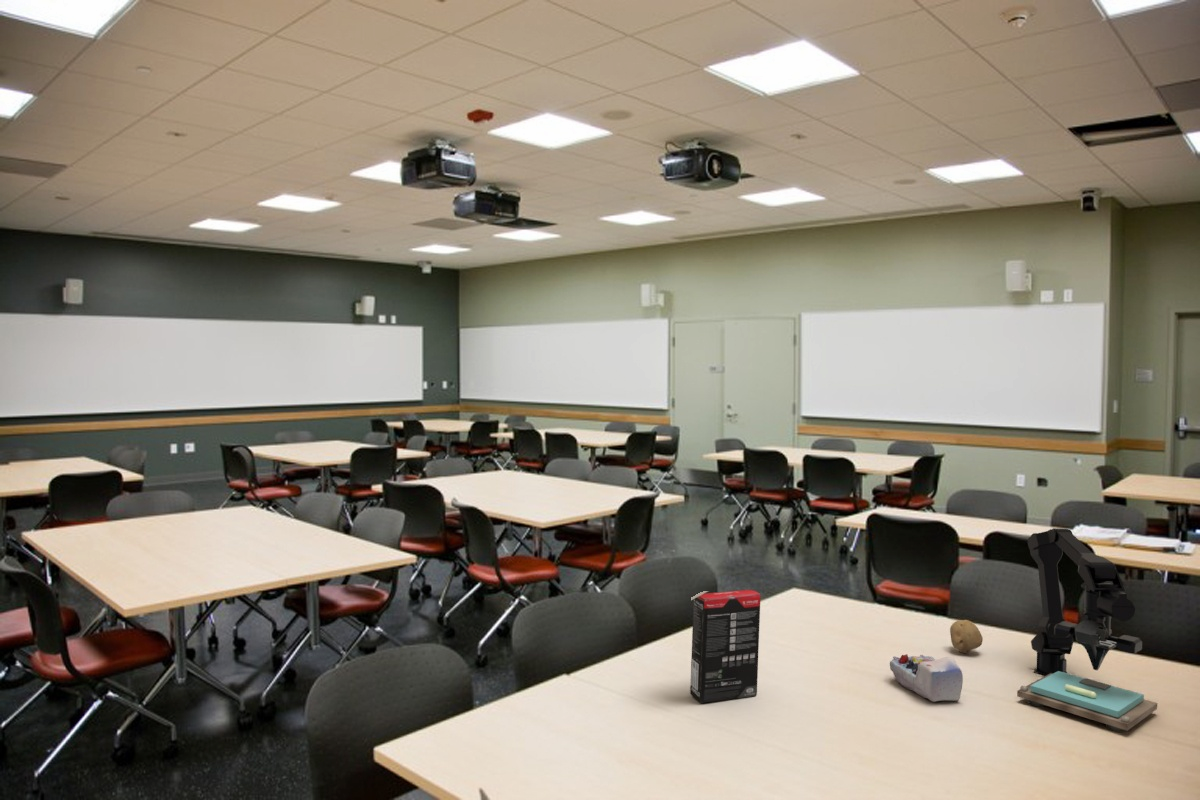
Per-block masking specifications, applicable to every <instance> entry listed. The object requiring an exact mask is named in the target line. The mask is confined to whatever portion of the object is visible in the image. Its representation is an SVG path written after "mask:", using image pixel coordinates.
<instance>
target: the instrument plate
mask: <svg viewBox="0 0 1200 800" xmlns="http://www.w3.org/2000/svg"><path fill="white" fill-rule="evenodd" d="M1030 691H1031V692H1034V693H1038V694H1041V695H1044V696H1048V697H1051V698H1054V699H1058V700H1061V701H1064V702H1067V703H1071V704H1074V705H1077V706H1081V707H1084V708H1087V709H1091V710H1094V711H1097V712H1101V713H1104V714H1107V715H1111V716H1114V717H1117V718H1118V717H1120V716H1121V715H1123V714H1124V713H1126V712H1127V711H1129V710H1130V709H1132V708H1133V707H1135V706H1136V705H1138V704H1139V703H1141V702H1142V701H1144V699H1145V698H1144V697H1145V694H1143V693H1140V692H1135V691H1133V690H1128V689H1125V688H1121V687H1118V686H1114V685H1111V684H1109V683H1105V682H1104V683H1103V682H1101V681H1097V680H1093V679H1089V678H1086V677H1082V676H1079V675H1074V674H1070V673H1068V672H1067V673H1064V672H1060V671H1057V672H1055V673H1053V674H1052V675H1050V676H1048V677H1046V678H1044V679H1042V680H1040V681H1038V682H1036V683H1034V684H1032V685H1030Z"/></svg>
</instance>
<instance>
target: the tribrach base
mask: <svg viewBox="0 0 1200 800" xmlns="http://www.w3.org/2000/svg"><path fill="white" fill-rule="evenodd" d="M1050 675H1052V673H1050V674H1048V675H1044V676H1043V677H1041V678H1039V679H1036V681H1033V682H1031V683H1030V684H1027V685H1021V686H1020V689H1018V690H1017V693H1016V694H1017V696H1016V697H1018V698H1022V699H1025V700H1028V704H1029V705H1031V706H1034V707H1039V708H1040V707H1041V708H1043V707H1044V706H1046V707H1050V708H1053V709H1056V710H1060V711H1063V712H1067V713H1070V714H1073V715H1076V716H1079V717H1082V718H1086V719H1088V720H1092V721H1095V722H1098V723H1101V724H1105V725H1106V728H1107V729H1108V730H1111V731H1114V732H1119V733H1120V732H1124V731H1126V732H1127V731H1129V730H1130V729H1132V728H1134V726H1136V725H1137V724H1139V723H1140V722H1141V721H1143V720H1144V719H1146V718H1147V717H1148V716H1150V715H1151V714H1152V713H1154V712H1155V711H1156V710H1157V709H1158V703H1157V702H1156V701H1152V700H1147V699H1145V698H1144V701H1142V702H1141V703H1139V704H1138V705H1136V706H1135V707H1133V708H1132V709H1130V710H1129V711H1127V712H1126V713H1124V714H1123V715H1121V716H1120V717H1118V718H1117V717H1114V716H1111V715H1107V714H1104V713H1101V712H1097V711H1094V710H1091V709H1087V708H1084V707H1081V706H1077V705H1074V704H1071V703H1067V702H1064V701H1061V700H1058V699H1054V698H1051V697H1048V696H1044V695H1041V694H1038V693H1034V692H1031V691H1030V685H1032V684H1034V683H1036V682H1038V681H1040V680H1042V679H1044V678H1046V677H1048V676H1050Z"/></svg>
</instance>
